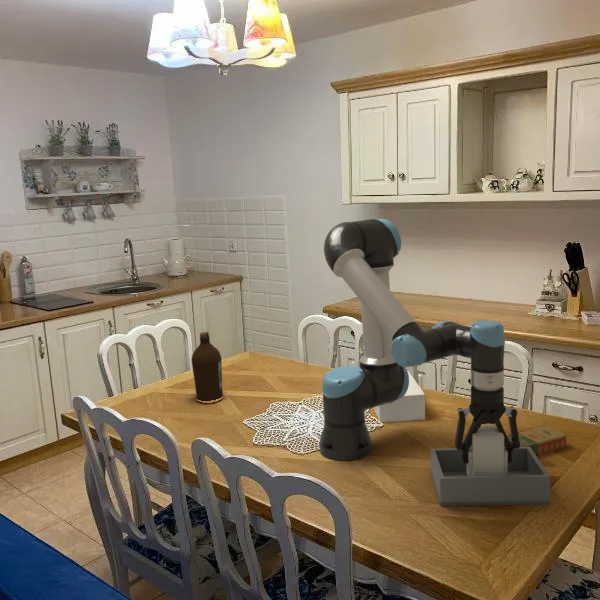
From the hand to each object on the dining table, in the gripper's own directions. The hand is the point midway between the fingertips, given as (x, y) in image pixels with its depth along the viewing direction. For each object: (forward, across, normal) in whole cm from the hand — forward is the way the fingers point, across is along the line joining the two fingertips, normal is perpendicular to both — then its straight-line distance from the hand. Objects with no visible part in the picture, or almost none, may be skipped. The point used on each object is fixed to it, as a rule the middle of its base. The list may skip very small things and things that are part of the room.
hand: (486, 474), depth 151 cm
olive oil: (+4, -84, +68) cm, 108 cm away
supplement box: (+1, 0, 0) cm, 1 cm away
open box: (+4, 0, 0) cm, 4 cm away
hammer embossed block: (+4, -18, +56) cm, 59 cm away
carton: (+4, +18, +22) cm, 29 cm away
